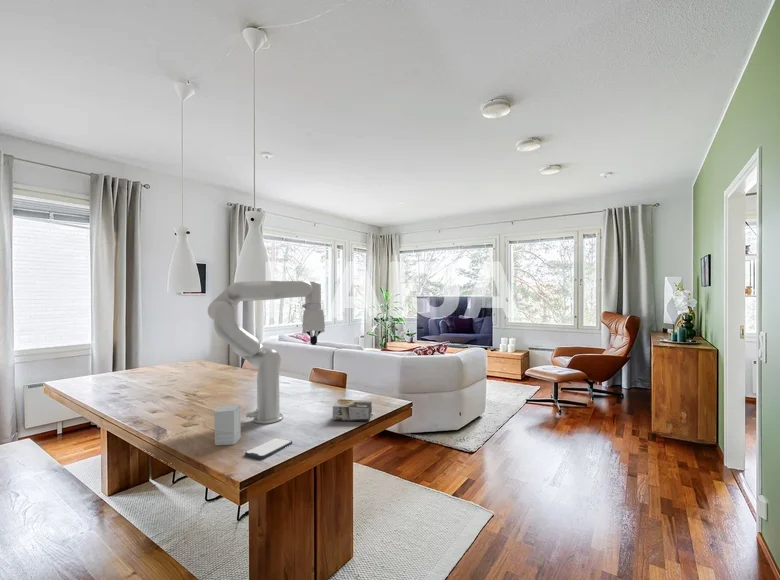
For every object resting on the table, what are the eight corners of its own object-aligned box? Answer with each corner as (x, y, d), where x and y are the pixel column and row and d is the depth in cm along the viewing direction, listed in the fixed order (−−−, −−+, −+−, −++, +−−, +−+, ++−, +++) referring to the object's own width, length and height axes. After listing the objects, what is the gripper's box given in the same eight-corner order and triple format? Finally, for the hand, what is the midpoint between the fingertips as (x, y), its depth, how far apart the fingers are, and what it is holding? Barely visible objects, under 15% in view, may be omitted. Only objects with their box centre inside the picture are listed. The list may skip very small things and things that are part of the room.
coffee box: (332, 420, 164) (369, 422, 163) (332, 405, 164) (369, 407, 162) (337, 412, 173) (372, 414, 172) (337, 398, 173) (372, 400, 171)
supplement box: (241, 437, 147) (241, 405, 147) (234, 445, 140) (234, 410, 140) (222, 438, 147) (221, 405, 147) (214, 445, 140) (213, 411, 140)
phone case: (275, 441, 145) (242, 457, 130) (275, 437, 145) (243, 452, 130) (293, 445, 141) (262, 461, 126) (293, 440, 141) (262, 456, 126)
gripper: (299, 307, 177) (299, 346, 177) (330, 306, 183) (330, 344, 183) (296, 307, 184) (296, 344, 184) (326, 306, 190) (326, 342, 190)
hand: (313, 344), depth 184 cm, fingers closed
